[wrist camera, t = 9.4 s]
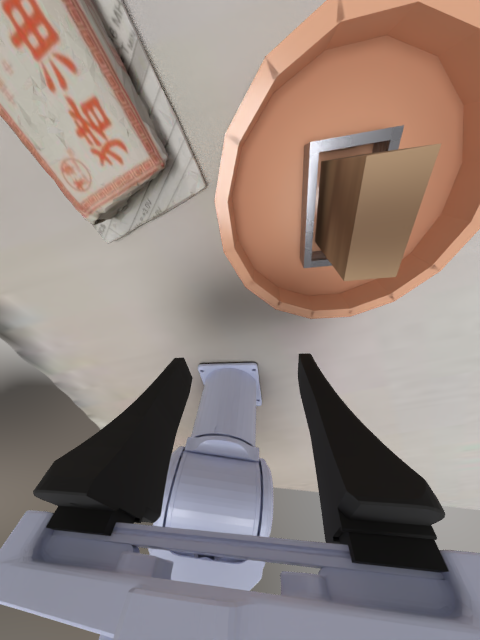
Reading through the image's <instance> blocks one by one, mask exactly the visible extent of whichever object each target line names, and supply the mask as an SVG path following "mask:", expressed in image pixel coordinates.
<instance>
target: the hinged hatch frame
mask: <svg viewBox="0 0 480 640" xmlns="http://www.w3.org/2000/svg"><path fill="white" fill-rule="evenodd" d="M403 128H404V125H401V126H396V127H390V128H385V129H379V130H374V131H368V132H363V133H357V134H352V135H346V136H341V137H335V138H330V139H324V140H319V141H313V142H309V143H308V144H306V145H304V160H303V186H302V211H301V237H300V261H301V263H302V265H303V268H312V267H323V266H332V264H331V263H330V262H329V260H328V259H327V258H326V256H325V255H324V253H323V252H322V251H312V242H313V229H314V215H315V201H316V188H317V174H318V160H319V153H322V152H328V151H334V150H340V149H345V148H351V147H357V146H363V145H368V144H374V145H373V150H372V153H377V152H384V151H391V150H398V148H399V144H400V140H401V136H402V132H403Z"/></svg>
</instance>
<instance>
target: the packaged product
mask: <svg viewBox="0 0 480 640" xmlns="http://www.w3.org/2000/svg"><path fill="white" fill-rule="evenodd" d="M0 116H1V117H2V118H3V119H4V120H5V122H6V123H7V124H8V125H9V126H10V128H11V129H12V130H13V131H14V133H15V134H16V135H17V136H18V137H19V139H20V140H21V142H22V143H23V144H24V145H25V147H26V148H27V149H28V150H29V151H30V153H31V154H32V155H33V156H34V157H35V159H36V160H37V161H38V162H39V164H40V165H41V166H42V167H43V168H44V170H45V171H46V172H47V173H48V174H49V175H50V176H51V177H52V178H53V179H54V181H55V182H56V184H57V185H58V187H59V188H60V190H61V191H62V192H63V194H64V195H65V196H66V198H67V199H68V200H69V201H70V202H71V203H72V205H73V206H74V207H75V209H76V210H77V211H78V212H79V213H81V215H82V216H83V217H84V219H85V220H87V221H88V222H90V223H91V224H92V225H93V226H94V227H95V229H96V230H97V231H98V232H99V234H100V235H101V237H102V238H103V239H104V241H105V242H106V243H108V244H109V243H111V242H113V241H115V240H117V239H119V238H122V237H124V236H126V235H127V234H129V233H130V232H131V231H133V230H134V229H136V228H137V227H139V226H140V225H142V224H144V223H146V222H148V221H151V220H153V219H155V218H157V217H159V216H161V215H162V214H164V213H166V212H168V211H169V210H171V209H173V208H175V207H177V206H178V205H180V204H182V203H184V202H185V201H187V200H188V199H189V198H191V197H192V196H193V195H195V194H196V193H197V192H199V191H200V190H202V189H203V188H205V187H206V186H207V185H206V183H205V180H204V178H203V176H202V173H201V171H200V169H199V166H198V164H197V161H196V159H195V157H194V155H193V152H192V150H191V148H190V146H189V143H188V141H187V139H186V137H185V134H184V132H183V130H182V127H181V125H180V123H179V121H178V118H177V116H176V115H175V113H174V111H173V109H172V107H171V105H170V103H169V101H168V99H167V97H166V95H165V93H164V91H163V89H162V87H161V85H160V83H159V80H158V78H157V76H156V74H155V72H154V69H153V67H152V65H151V63H150V60H149V58H148V56H147V54H146V52H145V49H144V47H143V45H142V43H141V40H140V38H139V36H138V34H137V31H136V29H135V27H134V25H133V23H132V21H131V18H130V16H129V14H128V12H127V10H126V8H125V5H124V3H123V0H0Z"/></svg>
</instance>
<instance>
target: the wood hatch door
mask: <svg viewBox="0 0 480 640" xmlns="http://www.w3.org/2000/svg"><path fill="white" fill-rule="evenodd" d="M441 144H442V143H441ZM441 144H434V145H426V146H419V147H412V148H405V149H398V150H391V151H384V152H377V153H369V154H362V155H356V156H350V157H344V158H338V159H332V160H326V161H321V170H320V182H319V195H318V207H317V220H316V233H315V243H316V244H317V245H318V247H319V248H320V249H321V251H322V252H323V253H324V255H325V256H326V258H327V259H328V260H329V262H330V263H331V264H332V266H333V267H334V268H335V270H336V271H337V272H338V274H339V275H340V277H341V278H342V279H343V281H353V280H365V279H377V278H390V277H396V275H397V272H398V270H399V267H400V264H401V261H402V258H403V255H404V252H405V249H406V246H407V243H408V240H409V237H410V235H411V232H412V229H413V226H414V223H415V220H416V217H417V214H418V211H419V208H420V205H421V202H422V199H423V197H424V194H425V191H426V188H427V185H428V182H429V179H430V176H431V173H432V170H433V167H434V164H435V161H436V159H437V156H438V153H439V150H440V147H441Z"/></svg>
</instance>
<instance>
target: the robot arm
mask: <svg viewBox="0 0 480 640" xmlns="http://www.w3.org/2000/svg"><path fill="white" fill-rule="evenodd" d="M198 371H199V373H200V376H201V378H202V381H203V383H204V389H203V393H202V397H201V400H200V404H199V408H198V412H197V416H196V419H195V423H194V427H193V431H192V435H191V437H188V439H187V442H186V446H185V447H182V446H180V447H178V448H177V450H175V451H174V452H173V453H172V449H173V445H174V441H175V436H176V433H177V429H178V426H179V423H180V420H181V417H182V414H183V411H184V408H185V405H186V402H187V399H188V396H189V393H190V388H191V383H192V376H191V373H190V371H189V369H188V366H187V364H186V362H185V360H184V358H174V360H173V361H172V362H171V363H170V364H169V365H168V366H167V367H166V369H165V370H164V371H163V372H162V373H161V374H160V375H159V377H158V378H157V379H156V380H155V381H154V382H153V383H152V384H151V385H150V386H149V387H148V388H147V390H146V391H145V392H144V393H143V394H142V395H141V396H140V397H139V398H138V399H137V400H136V401H135V402H134V403H132V404H131V405H130V406H129V407H128V408H127V409H126V410H125V411H124V412H122V413H121V414H120V415H119V416H118V417H117V418H115V419H114V420H113V421H112V422H110V423H109V424H108V425H107V426H105V427H104V428H103V429H101V430H100V431H99V432H98V433H96V434H95V435H94V436H92V437H91V438H89V439H88V440H86V441H85V442H84V443H82V444H81V445H79V446H78V447H76V448H75V449H73V450H71V451H70V452H68V453H67V454H65V455H64V456H62V457H61V458H59V459H57V460H56V461H54V463H53V464H52V466H51V467H50V469H49V470H48V471H47V473H46V474H45V476H44V477H43V478H42V480H41V481H40V483H39V484H38V486H37V487H36V488H35V490H34V491H33V493H34V496H36V497H38V498H40V499H42V500H45V501H47V502H50V503H52V504H55V505H57V506H58V508H57V510H56V511H55V513H51V512H44V511H34V510H28V511H26V512H25V514H24V515H23V517H22V518H21V520H20V521H19V523H18V524H17V526H16V527H15V528H14V530H13V531H12V533H11V534H10V536H9V537H8V539H7V540H6V542H5V543H4V545H3V546H2V548H1V549H0V604H2V605H5V606H9V607H13V608H16V609H19V610H23V611H26V612H29V613H32V614H36V615H39V616H42V617H45V618H49V619H52V620H56V621H59V622H62V623H65V624H68V625H72V626H75V627H78V628H81V629H85V630H88V631H91V632H94V633H98V634H100V637H99V640H480V553H474V552H463V551H454V550H440V551H439V549H438V547H437V545H436V543H435V540H436V539H437V537H436V534H435V532H434V530H433V528H432V526H431V525H432V524H434V523H436V522H438V521H440V520H442V519H443V518H444V517H445V512H444V510H443V508H442V506H441V504H440V503H439V501H438V499H437V497H436V496H435V494H434V493H433V491H432V490H431V488H430V487H429V485H428V484H427V482H426V481H425V479H423V478H422V477H421V476H420V475H419V474H417V473H416V472H415V471H414V470H413V469H411V468H410V467H409V466H408V465H407V464H406V463H404V462H403V461H402V460H401V459H400V458H399V457H397V456H396V455H395V454H394V453H393V452H392V451H391V450H390V449H389V448H387V447H386V446H385V445H384V444H383V443H382V442H381V441H380V440H379V439H378V438H377V437H376V436H375V435H374V434H373V433H372V432H371V431H370V430H369V429H368V428H367V427H366V426H365V425H364V424H363V423H362V422H361V421H360V420H359V419H358V418H357V417H356V416H355V415H354V414H353V412H352V411H351V410H350V409H349V408H348V407H347V406H346V404H345V403H344V402H343V401H342V400H341V398H340V397H339V396H338V395H337V393H336V392H335V391H334V389H333V388H332V387H331V385H330V384H329V382H328V381H327V380H326V378H325V377H324V375H323V374H322V372H321V371H320V369H319V367H318V366H317V364H316V362H315V361H314V359H313V357H312V355H311V354H299V363H298V381H299V388H300V394H301V398H302V403H303V407H304V411H305V415H306V419H307V423H308V427H309V431H310V436H311V441H312V448H313V454H314V461H315V467H316V474H317V481H318V488H319V495H320V503H321V510H322V518H323V525H324V534H325V540H326V543H322V542H312V541H301V540H291V539H282V538H272V537H269V535H270V532H271V526H272V519H273V518H272V517H273V482H272V475H271V471H270V468H269V467H268V465H267V463H266V461H265V460H264V459H261V458H259V448H257V447H255V438H256V406H261V405H262V398H261V390H260V382H259V374H258V367H257V364H256V363H227V364H200V365H198ZM134 522H136V523H141V522H151V523H153V526H149V525H140V524H133V523H134ZM138 547H142V548H148V550H149V553H150V555H146V554H140V553H139V548H138ZM265 562H271V563H279V564H287V565H297V566H305V567H314V568H322V569H321V570H320V571H319V573H318V575H317V574H311V573H300V572H284V571H282V573H281V595H274V594H268V593H261V592H254V591H250V590H251V589H252V588H253V587H254V586H255V585H256V584H257V583H258V582H259V581H260V579H261V578H262V570H263V568H264V566H265Z"/></svg>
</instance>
